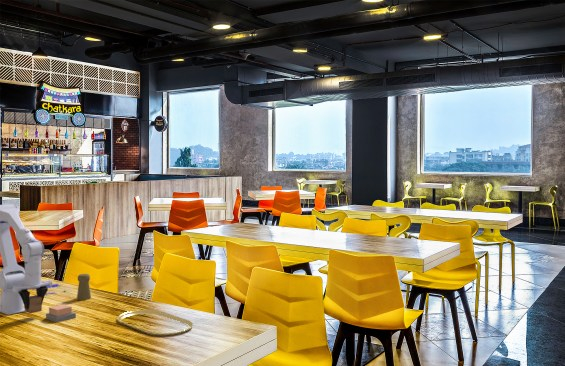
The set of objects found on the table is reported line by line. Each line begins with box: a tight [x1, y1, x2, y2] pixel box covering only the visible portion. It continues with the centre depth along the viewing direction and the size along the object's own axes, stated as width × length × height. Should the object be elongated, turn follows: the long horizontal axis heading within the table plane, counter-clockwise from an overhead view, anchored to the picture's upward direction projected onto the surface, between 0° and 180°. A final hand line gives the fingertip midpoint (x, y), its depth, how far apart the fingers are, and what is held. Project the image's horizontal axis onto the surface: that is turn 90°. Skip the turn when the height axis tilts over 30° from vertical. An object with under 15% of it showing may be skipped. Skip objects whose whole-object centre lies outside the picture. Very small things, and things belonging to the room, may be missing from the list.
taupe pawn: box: [76, 273, 92, 301], centre depth 241 cm, size 6×6×11 cm
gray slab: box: [45, 311, 77, 323], centre depth 210 cm, size 8×8×2 cm
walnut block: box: [24, 294, 43, 314], centre depth 210 cm, size 4×4×6 cm
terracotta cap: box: [48, 303, 73, 316], centre depth 210 cm, size 6×6×2 cm
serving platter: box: [117, 309, 194, 337], centre depth 204 cm, size 19×35×2 cm, turn 48°
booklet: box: [35, 283, 60, 296], centre depth 254 cm, size 12×25×1 cm, turn 41°
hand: (33, 307), depth 210 cm, fingers closed on walnut block, 4 cm apart
